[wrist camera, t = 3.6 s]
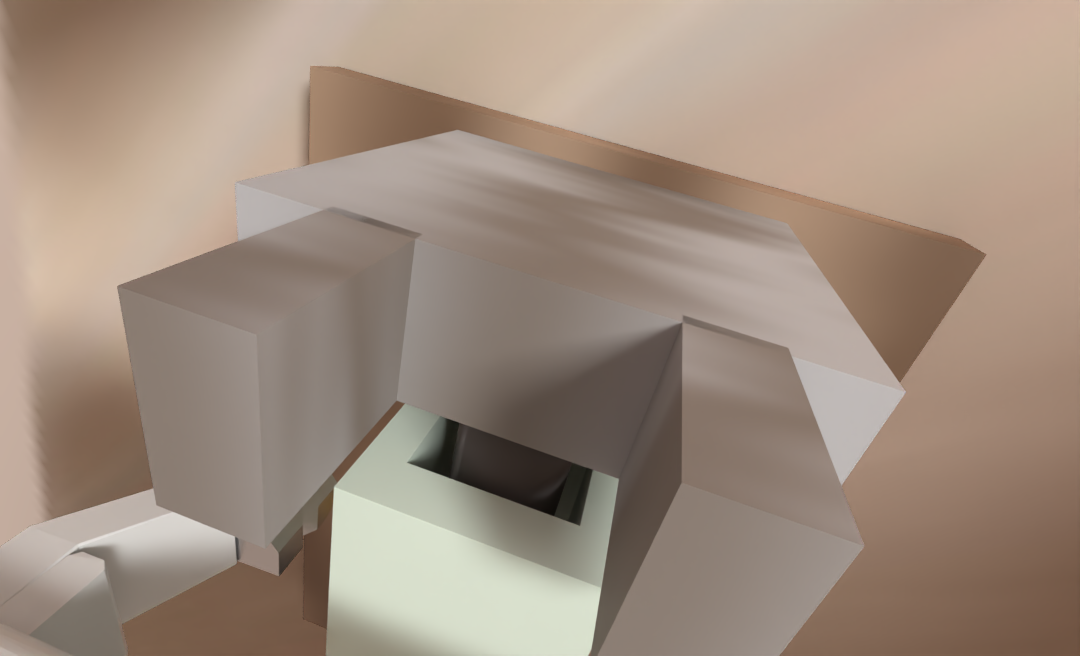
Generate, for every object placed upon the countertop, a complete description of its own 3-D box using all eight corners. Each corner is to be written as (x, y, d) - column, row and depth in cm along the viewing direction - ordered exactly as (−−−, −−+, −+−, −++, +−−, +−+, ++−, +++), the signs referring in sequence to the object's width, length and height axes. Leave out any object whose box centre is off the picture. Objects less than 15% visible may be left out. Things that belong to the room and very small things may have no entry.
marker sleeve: (641, 404, 11) (617, 594, 7) (578, 564, 13) (533, 773, 9) (456, 343, 11) (334, 486, 7) (428, 508, 13) (324, 683, 9)
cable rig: (960, 239, 12) (2009, 857, 3) (646, 728, 23) (619, 1199, 13) (338, 66, 14) (-430, 45, 4) (319, 595, 25) (87, 925, 15)
